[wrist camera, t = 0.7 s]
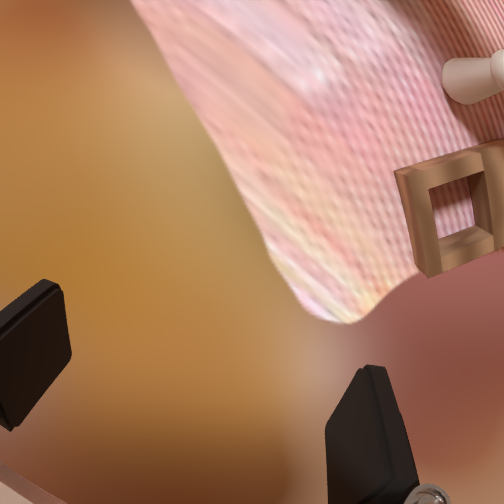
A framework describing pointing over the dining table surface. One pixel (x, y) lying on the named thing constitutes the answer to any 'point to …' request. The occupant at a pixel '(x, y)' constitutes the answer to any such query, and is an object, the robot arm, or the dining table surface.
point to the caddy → (483, 201)
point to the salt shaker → (474, 77)
